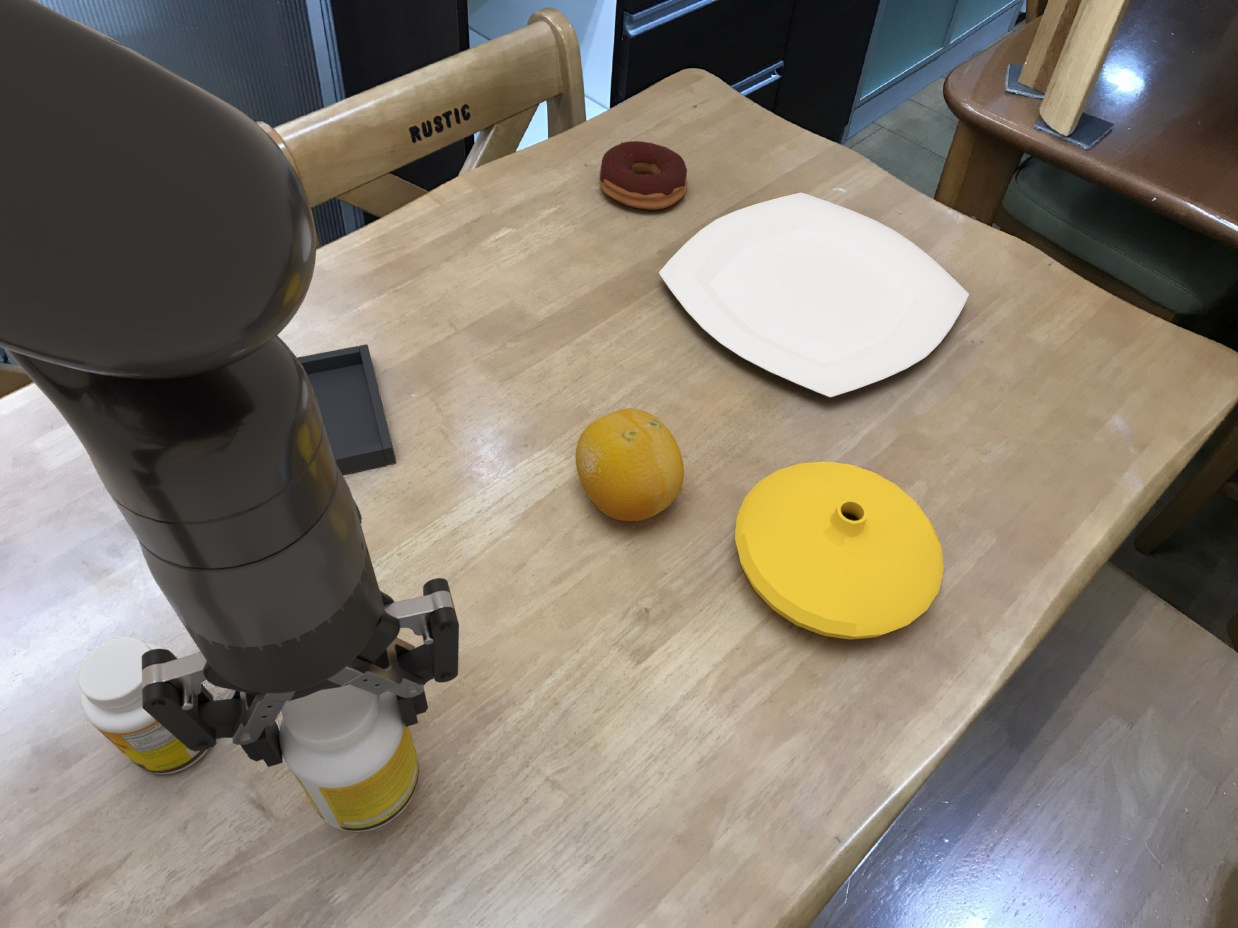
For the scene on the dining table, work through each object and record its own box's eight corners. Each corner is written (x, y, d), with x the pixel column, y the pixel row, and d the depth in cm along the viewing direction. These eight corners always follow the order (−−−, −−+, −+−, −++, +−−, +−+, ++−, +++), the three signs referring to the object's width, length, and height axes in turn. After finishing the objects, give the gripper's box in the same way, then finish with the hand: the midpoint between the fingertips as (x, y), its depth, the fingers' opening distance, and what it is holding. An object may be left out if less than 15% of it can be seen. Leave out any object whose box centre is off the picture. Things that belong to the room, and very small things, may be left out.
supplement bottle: (127, 713, 59) (59, 641, 51) (214, 684, 61) (161, 610, 53) (134, 791, 56) (63, 728, 48) (226, 758, 57) (172, 691, 50)
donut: (704, 193, 100) (709, 162, 96) (642, 227, 95) (644, 195, 92) (642, 154, 104) (645, 123, 101) (579, 185, 99) (580, 153, 96)
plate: (621, 285, 89) (622, 269, 87) (795, 188, 101) (799, 173, 100) (828, 441, 77) (834, 426, 76) (997, 310, 89) (1005, 295, 88)
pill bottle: (442, 779, 54) (421, 697, 45) (354, 859, 51) (312, 788, 42) (376, 708, 57) (344, 617, 48) (289, 780, 53) (236, 696, 44)
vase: (811, 453, 76) (830, 397, 71) (970, 568, 70) (1004, 516, 64) (687, 558, 69) (698, 505, 63) (851, 698, 62) (879, 652, 57)
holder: (197, 508, 70) (188, 492, 68) (190, 396, 77) (182, 379, 75) (396, 463, 73) (392, 447, 72) (371, 360, 81) (367, 343, 79)
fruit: (699, 500, 72) (712, 437, 66) (629, 556, 69) (636, 495, 63) (623, 439, 76) (629, 374, 70) (553, 489, 72) (552, 425, 66)
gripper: (62, 694, 31) (206, 840, 44) (468, 589, 35) (491, 753, 47) (70, 526, 35) (198, 704, 48) (429, 449, 39) (459, 633, 52)
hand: (343, 728), depth 48 cm, fingers closed on pill bottle, 6 cm apart
